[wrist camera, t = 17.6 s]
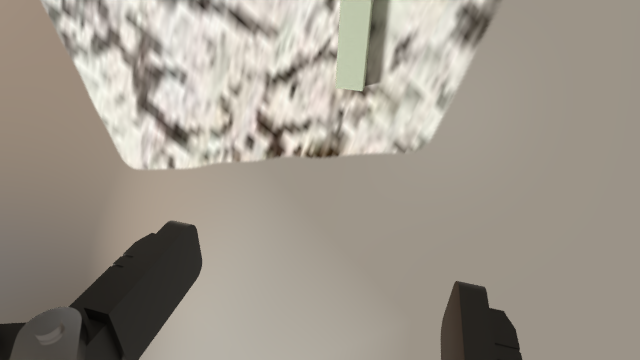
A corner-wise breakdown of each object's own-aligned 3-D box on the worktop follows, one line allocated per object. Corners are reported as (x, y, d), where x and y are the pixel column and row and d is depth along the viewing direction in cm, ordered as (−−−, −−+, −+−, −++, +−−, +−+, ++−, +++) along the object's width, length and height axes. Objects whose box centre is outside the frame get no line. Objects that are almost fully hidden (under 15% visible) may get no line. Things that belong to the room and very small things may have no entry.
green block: (311, 80, 50) (307, 84, 48) (316, -105, 40) (311, -108, 38) (393, 89, 48) (392, 94, 46) (420, -104, 38) (420, -107, 36)
